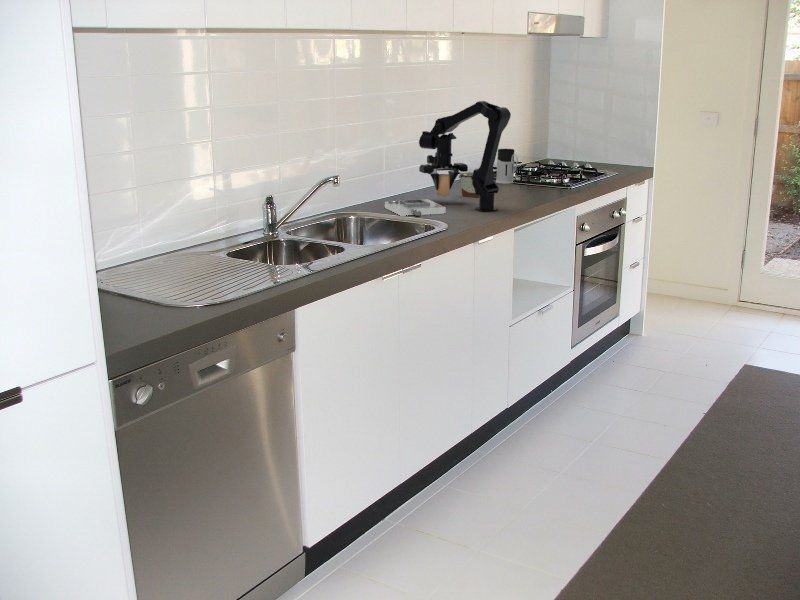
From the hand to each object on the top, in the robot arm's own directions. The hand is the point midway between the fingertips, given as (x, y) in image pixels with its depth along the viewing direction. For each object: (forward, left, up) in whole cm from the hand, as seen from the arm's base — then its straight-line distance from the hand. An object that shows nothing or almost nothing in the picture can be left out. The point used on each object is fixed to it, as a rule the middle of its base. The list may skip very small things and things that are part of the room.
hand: (443, 189), depth 352 cm
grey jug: (+42, -50, -6) cm, 66 cm away
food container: (+11, -19, -6) cm, 23 cm away
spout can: (0, 0, -2) cm, 2 cm away
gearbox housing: (-12, +16, -6) cm, 21 cm away
